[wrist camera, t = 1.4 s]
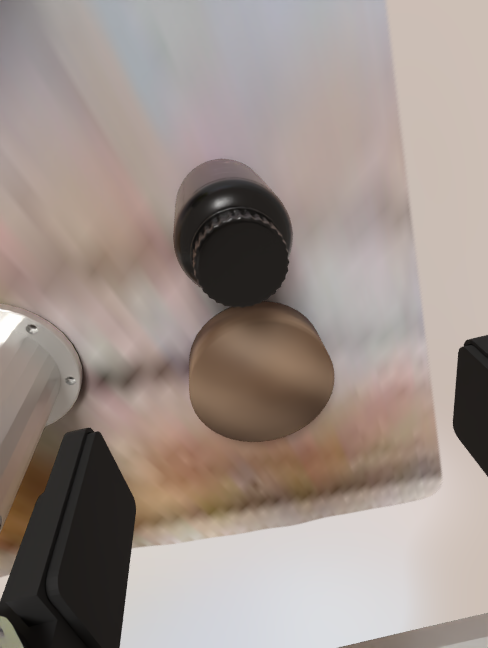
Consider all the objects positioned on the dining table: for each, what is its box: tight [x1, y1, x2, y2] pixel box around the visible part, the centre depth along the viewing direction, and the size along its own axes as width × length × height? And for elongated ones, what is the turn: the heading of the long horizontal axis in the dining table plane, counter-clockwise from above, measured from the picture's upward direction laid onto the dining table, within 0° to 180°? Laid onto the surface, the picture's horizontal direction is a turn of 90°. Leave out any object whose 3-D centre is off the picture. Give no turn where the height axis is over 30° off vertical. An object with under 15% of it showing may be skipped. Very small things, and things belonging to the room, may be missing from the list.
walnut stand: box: [189, 301, 334, 442], centre depth 36 cm, size 12×12×4 cm
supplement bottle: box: [173, 159, 293, 308], centre depth 26 cm, size 7×7×12 cm
